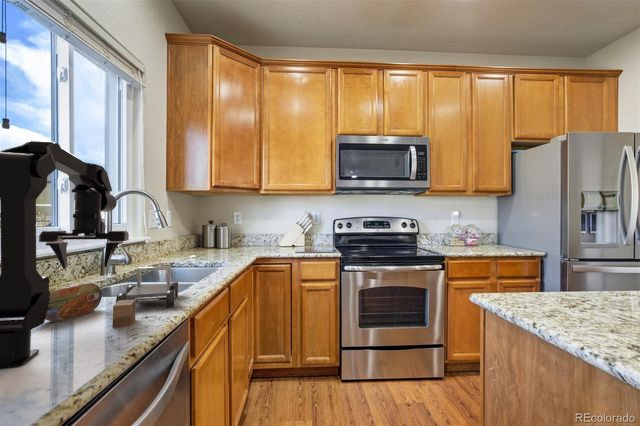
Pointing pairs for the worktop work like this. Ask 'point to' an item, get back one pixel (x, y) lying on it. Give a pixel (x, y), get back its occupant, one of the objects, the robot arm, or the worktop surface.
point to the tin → (73, 301)
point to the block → (124, 313)
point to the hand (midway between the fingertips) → (85, 268)
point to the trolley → (151, 289)
